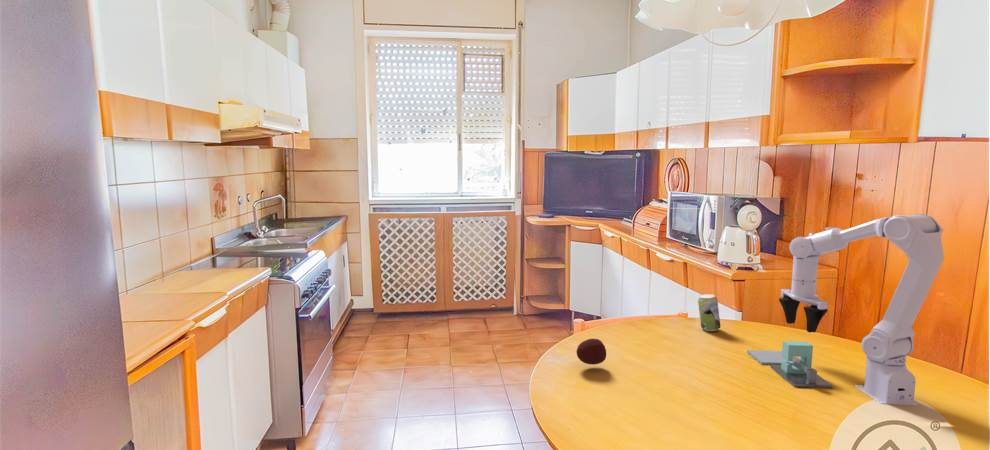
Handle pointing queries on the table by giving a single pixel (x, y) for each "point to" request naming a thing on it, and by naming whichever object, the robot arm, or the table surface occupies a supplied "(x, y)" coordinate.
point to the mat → (768, 357)
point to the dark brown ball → (591, 351)
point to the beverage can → (709, 312)
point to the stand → (802, 376)
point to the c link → (797, 350)
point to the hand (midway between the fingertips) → (800, 327)
